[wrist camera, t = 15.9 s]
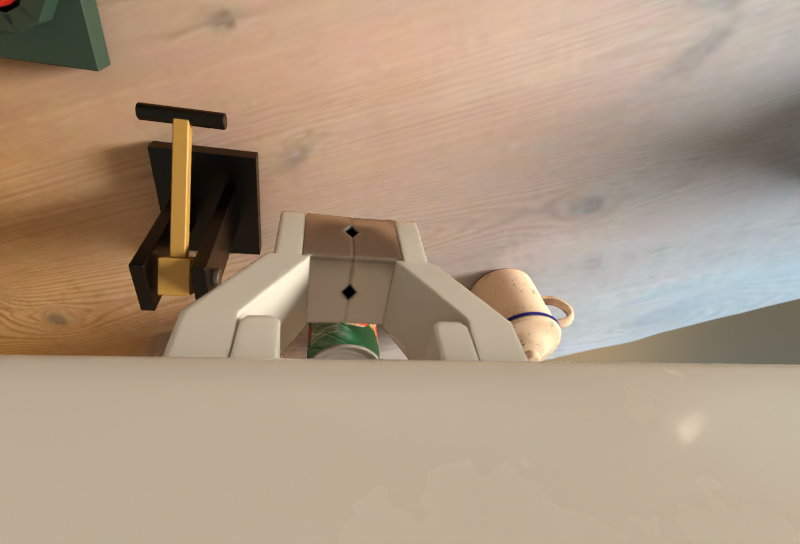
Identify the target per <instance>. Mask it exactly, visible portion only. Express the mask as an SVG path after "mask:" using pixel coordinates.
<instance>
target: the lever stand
mask: <svg viewBox="0 0 800 544" xmlns="http://www.w3.org/2000/svg"><path fill="white" fill-rule="evenodd" d="M148 151H149V156H150V161H151V165H152V170H153V175H154V180H155V185H156V190H157V195H158V200H159V205H160V209H161V213H160V215H159V217H158V218H157V220H156V221H155V223H154V225H153V226H152V228H151V230H150V231H149V233H148V234H147V236H146V238H145V239H144V241H143V243H142V244H141V246H140V247H139V249H138V251H137V252H136V254H135V256H134V257H133V259H132V261H131V262H130V264H129V269H130V273H131V276H132V280H133V283H134V287H135V290H136V294H137V297H138V301H139V304H140V308H141V310H148V311H155V309H156V307H157V305H158V303H159V301H160V299H161V297H162V295H158V258H160V257H165V256H170V224H171V181H172V143H167V142H158V141H152V143H151V144H150V145H149V146H148ZM189 250H192V251H198V252H197V254H196V256H195V259H194V261H193V264H192V266H191V268H190V270H191V276H192V282H193V287H194V293H195V299H196V300H197V299H199V298H200V297H202V296H203V295H205V294H206V293H208V292H209V291H211V290H212V289H214V288H215V287H217V286H218V285H220V284H221V280H222V276H223V273H224V270H225V267H226V263H227V260H228V257H229V254H230V253H241V254H258V255H260V251H261V224H260V196H259V169H258V153H257V152H249V151H240V150H231V149H221V148H212V147H203V146H194V145H192V150H191V186H190V222H189Z"/></svg>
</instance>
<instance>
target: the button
mask: <svg viewBox="0 0 800 544" xmlns="http://www.w3.org/2000/svg"><path fill="white" fill-rule="evenodd" d="M15 1H16V0H0V7H3V6H7V5H10V4H12V3H14V2H15Z"/></svg>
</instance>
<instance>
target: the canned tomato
mask: <svg viewBox="0 0 800 544" xmlns="http://www.w3.org/2000/svg"><path fill="white" fill-rule="evenodd" d="M307 359H380V358H379V347H378V340H377V330H376V324H360V323H313V322H309V334H308V350H307Z"/></svg>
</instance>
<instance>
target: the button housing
mask: <svg viewBox="0 0 800 544" xmlns="http://www.w3.org/2000/svg"><path fill="white" fill-rule="evenodd" d="M0 58H7V59H14V60H21V61H29V62H36V63H43V64H50V65H57V66H65V67H72V68H79V69H86V70H93V71H100V70H101V69H103V68H105V67H107V66H108V65H110V61H109V57H108V52H107V48H106V44H105V39H104V35H103V31H102V27H101V22H100V18H99V14H98V9H97V5H96V1H95V0H16V1H15V2H14V3H12V4H10V5H7V6H3V7H0Z"/></svg>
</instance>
